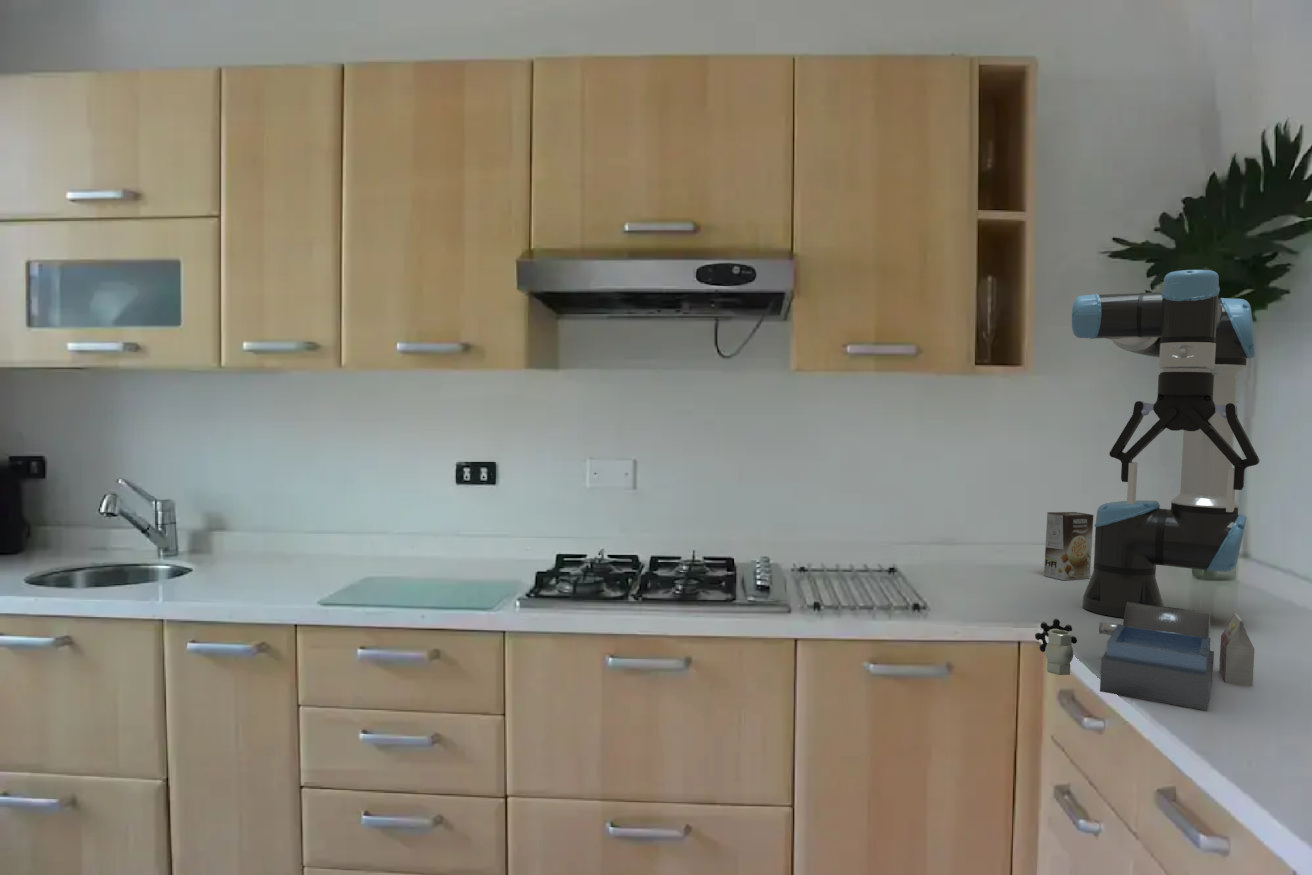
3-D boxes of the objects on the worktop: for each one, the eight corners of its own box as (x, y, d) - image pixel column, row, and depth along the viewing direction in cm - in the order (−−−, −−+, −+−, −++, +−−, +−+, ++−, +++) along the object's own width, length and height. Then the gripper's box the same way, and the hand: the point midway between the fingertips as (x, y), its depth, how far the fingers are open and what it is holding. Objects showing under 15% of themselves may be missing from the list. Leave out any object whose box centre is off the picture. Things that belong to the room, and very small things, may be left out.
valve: (1081, 678, 146) (1075, 658, 158) (1083, 637, 146) (1077, 620, 157) (1036, 673, 149) (1034, 654, 160) (1038, 633, 148) (1035, 616, 160)
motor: (1102, 649, 163) (1105, 593, 163) (1214, 667, 154) (1218, 608, 153) (1078, 687, 141) (1081, 623, 141) (1207, 710, 132) (1210, 641, 132)
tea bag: (1245, 674, 150) (1248, 614, 150) (1252, 686, 144) (1255, 623, 144) (1219, 671, 152) (1222, 611, 151) (1225, 682, 146) (1228, 620, 145)
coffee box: (1063, 581, 224) (1066, 515, 224) (1043, 576, 230) (1045, 512, 230) (1091, 578, 228) (1094, 514, 227) (1070, 573, 234) (1073, 511, 233)
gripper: (1093, 370, 148) (1087, 501, 149) (1280, 370, 133) (1272, 517, 134) (1104, 371, 154) (1098, 498, 155) (1284, 372, 139) (1276, 512, 140)
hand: (1179, 507), depth 144 cm, fingers open, 13 cm apart
